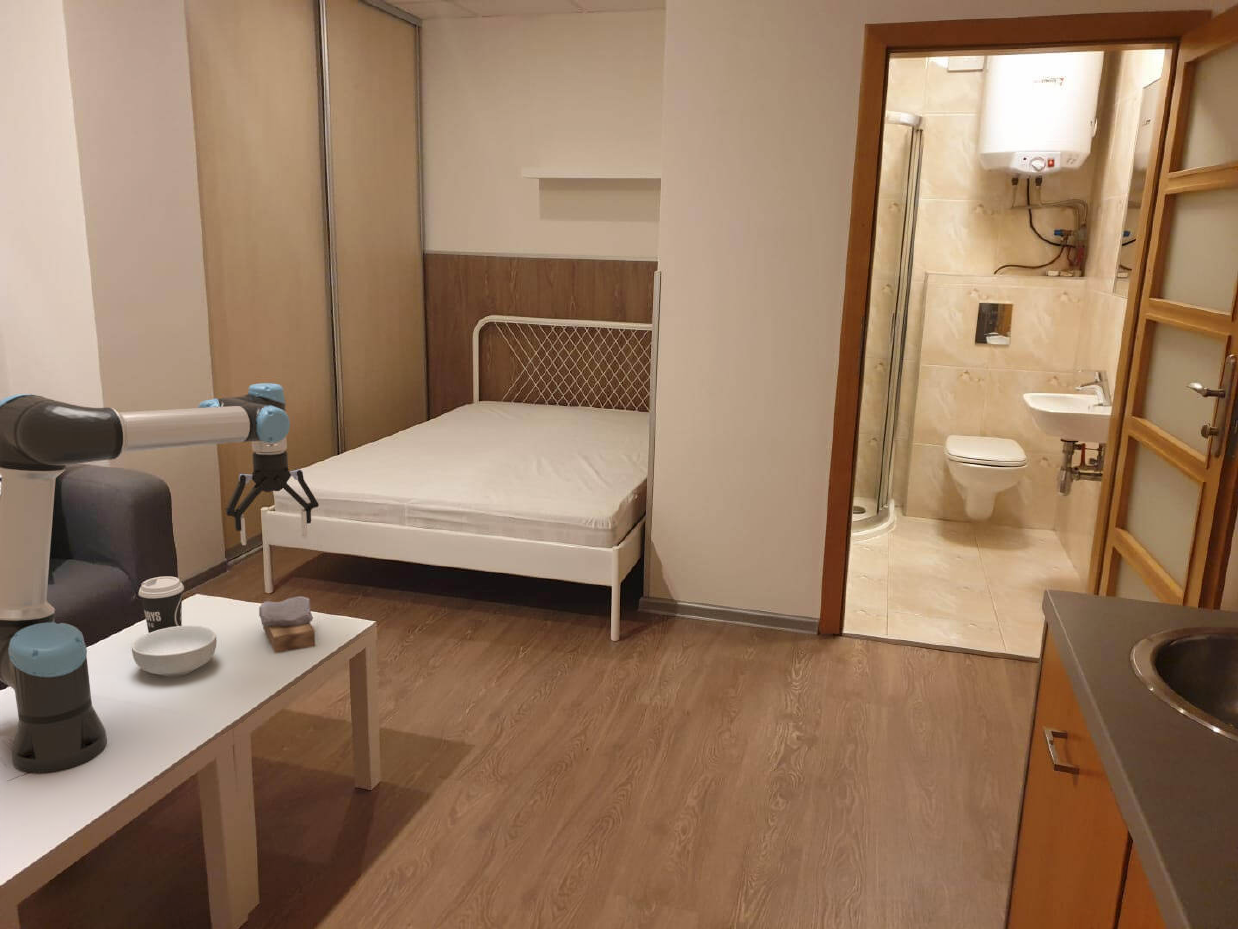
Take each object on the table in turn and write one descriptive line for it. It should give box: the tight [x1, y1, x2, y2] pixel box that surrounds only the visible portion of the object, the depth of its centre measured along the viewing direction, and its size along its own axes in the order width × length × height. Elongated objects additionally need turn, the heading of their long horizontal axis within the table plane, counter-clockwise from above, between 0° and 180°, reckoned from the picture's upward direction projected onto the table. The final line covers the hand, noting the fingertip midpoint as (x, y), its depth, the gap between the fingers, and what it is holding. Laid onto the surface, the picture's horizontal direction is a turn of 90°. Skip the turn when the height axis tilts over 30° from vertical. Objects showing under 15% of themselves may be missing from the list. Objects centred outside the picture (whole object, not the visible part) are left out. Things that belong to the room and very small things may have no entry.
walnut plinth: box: [262, 622, 316, 654], centre depth 228 cm, size 9×16×4 cm, turn 29°
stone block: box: [258, 595, 314, 627], centre depth 228 cm, size 12×5×10 cm
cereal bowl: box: [131, 625, 217, 678], centre depth 210 cm, size 17×17×7 cm
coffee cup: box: [138, 575, 185, 633], centre depth 222 cm, size 10×10×15 cm
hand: (274, 540), depth 223 cm, fingers open, 13 cm apart
